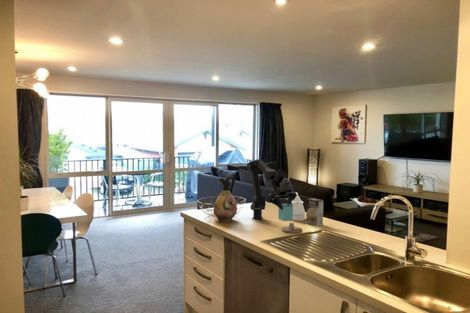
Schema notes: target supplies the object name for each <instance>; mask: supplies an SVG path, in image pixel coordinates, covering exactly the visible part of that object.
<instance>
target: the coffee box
mask: <svg viewBox="0 0 470 313" xmlns="http://www.w3.org/2000/svg"><path fill="white" fill-rule="evenodd" d="M323 220H324V200H323V199H319V198H315V197H310V198H306V211H305V223H306V224H307V225H310V226H311V225H312V226H316V227H319V226H322V225H323V224H324V223H323V222H324V221H323Z"/></svg>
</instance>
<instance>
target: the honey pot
mask: <svg viewBox="0 0 470 313" xmlns="http://www.w3.org/2000/svg"><path fill="white" fill-rule="evenodd" d="M296 194H297V196H296V198H295V199H294V200H293V201H292V205H293V220H292V221H295V222H296V221H301V222H302V221H304V220H305V221H306V211H305V207H304V205H303V204H304V201H302V199H301V198H300V196H299V193H298V192H296Z"/></svg>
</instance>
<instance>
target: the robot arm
mask: <svg viewBox="0 0 470 313" xmlns="http://www.w3.org/2000/svg"><path fill="white" fill-rule="evenodd" d="M246 168H247V172H248V173H249V174H250V176H251V177H250V178H251V182H252V184H251V185H252V190H253V198H252V203H251V205H250V206H249V207H250V210H252V212H253V214H252V215H253V217H251V219H252V220H263V218H264V217H263V216H262V215H263V214H262V212H263V210H265V209H266V204H267V203H269V204H272V205H274V206H276V207H277V208H278V209H279V208H280V209H281V210H283V207H282V205H281V204H282V203H281V200H284V199H285V203H288V204H291V205H292V201H293V200H294V199H295V198H296V196H297V195H298V194H296V193H297V192H296V191H292V192H291V190H292V185H291V184H290V183H287V184H285V185H284V184H282V183H283V182H284V181H285V179H286V177H287V175H288V174H287V173H286V172H285V171H284V170H282V168H281V169H279V168H278V169H277V170H275V169H273V168H270V166H268V164H266V163H265V162H264V160H263V159H261V158H260V159H259V158H258V159H254V160H252V161H249V162H248V163H247V165H246ZM260 171H261V172H263V174H264V178H265V179H266V181H269V187H271V189H272V193H269V194H268V195H267V197H266V198H265V196H263V195H262V190H261V183H260V178H259V174H260ZM289 191H290V192H289ZM287 193H288V194H287ZM266 202H267V203H266Z"/></svg>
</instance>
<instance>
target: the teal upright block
mask: <svg viewBox="0 0 470 313" xmlns="http://www.w3.org/2000/svg"><path fill="white" fill-rule="evenodd" d="M281 205H282V207H283V210H281V209H280V208H279V207H278V216H277V217H278V218H277V219H278V220H280V221H282V222H289V221H294V220H293V205H291V204H288V203H286V202H285V203H281Z"/></svg>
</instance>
